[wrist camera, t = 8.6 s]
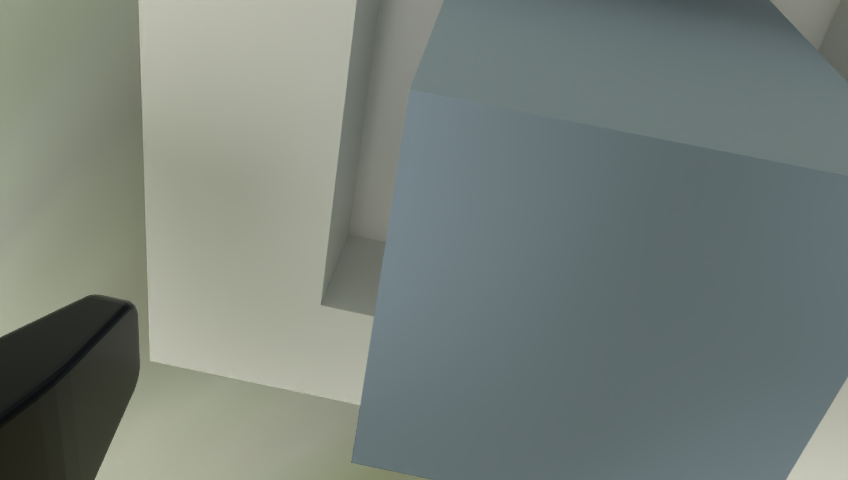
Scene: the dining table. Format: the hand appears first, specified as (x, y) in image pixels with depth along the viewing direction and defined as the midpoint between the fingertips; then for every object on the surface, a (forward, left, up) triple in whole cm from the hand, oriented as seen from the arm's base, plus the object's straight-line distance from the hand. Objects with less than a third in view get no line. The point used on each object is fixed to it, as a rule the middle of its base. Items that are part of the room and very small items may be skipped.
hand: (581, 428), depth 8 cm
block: (0, 0, -8) cm, 8 cm away
